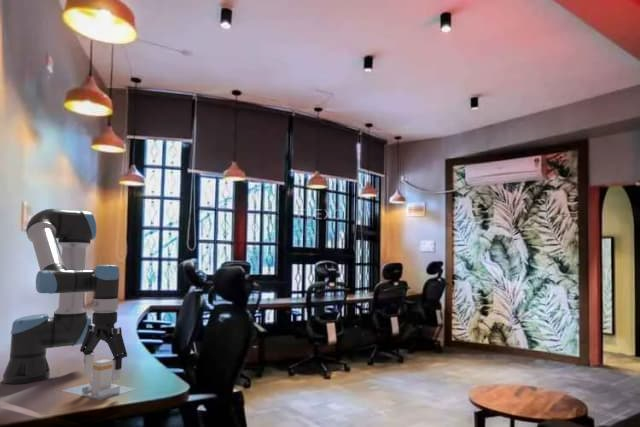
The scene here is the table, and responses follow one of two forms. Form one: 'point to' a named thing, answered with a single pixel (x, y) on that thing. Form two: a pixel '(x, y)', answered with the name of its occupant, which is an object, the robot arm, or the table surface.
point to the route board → (78, 389)
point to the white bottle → (101, 375)
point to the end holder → (101, 392)
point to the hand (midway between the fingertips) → (101, 377)
